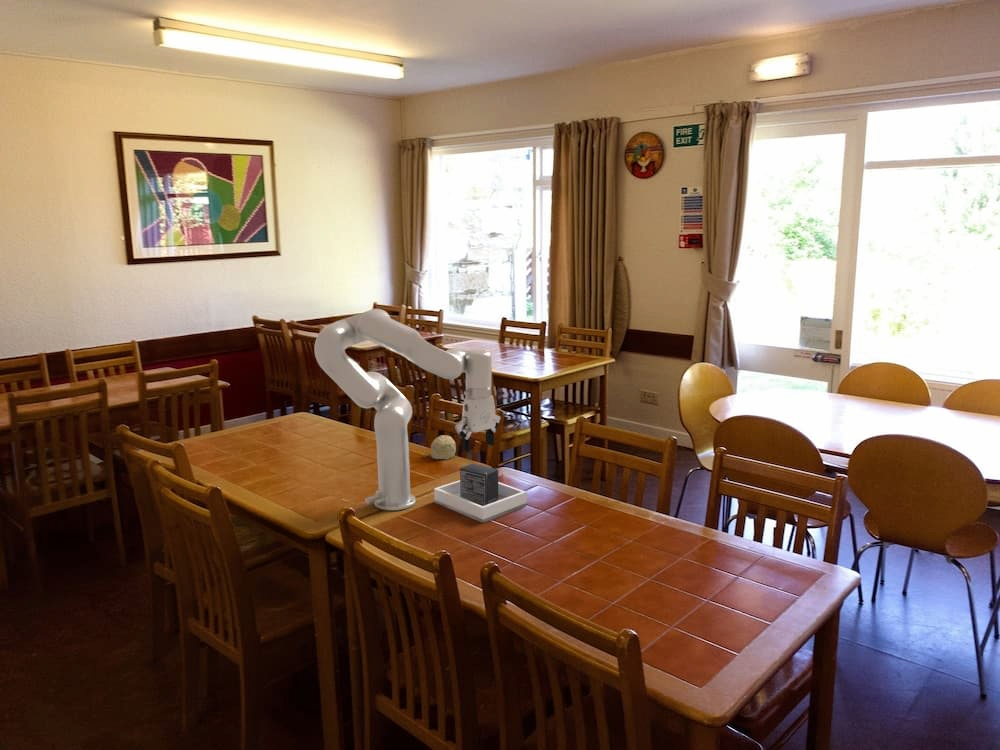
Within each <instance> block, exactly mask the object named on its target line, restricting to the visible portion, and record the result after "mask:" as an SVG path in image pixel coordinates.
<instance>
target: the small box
mask: <svg viewBox="0 0 1000 750" xmlns="http://www.w3.org/2000/svg"><path fill="white" fill-rule="evenodd" d="M459 478H460V479H459V480H460V497H461V498H464V499H466V500H469V501H471V502H474V503H476V504H479V505H481V506H485V505H488V504H490V503H493V502H496V501H498V482H499V469H498V468H493V467H489V466H485V465H480V464H476V463H469V464H467V465H464V466H462V467H459Z"/></svg>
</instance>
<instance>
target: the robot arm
mask: <svg viewBox="0 0 1000 750" xmlns="http://www.w3.org/2000/svg"><path fill="white" fill-rule="evenodd" d="M366 341H369V342H371V343H374V344H376V345H378V346H380V347H382V348H385V349H386V350H389V351H391V352H394V353H396V354H398V355H400V356H402V357H404V359H405V358H406V360H407V361H410V362H411V363H413V364H414V365H416V366H417V367H419V368H421V369H422V370H425V371H426V372H428V373H431V374H434V375H436V376H437V377H440V378H441V379H445V380H455V379H457V378H458V377H460V376H461V374H462V373H465V390H464V391H463V395H464V396H465V397H464V399H463V406H462V411H461V412H462V413H461V414H462V415H461V420H460V421H459V422H458V423H456V424H455V426H454V428H455V430H456V434H457V435H458V436H459V438H461V451H462V452H466V453H470V452H471V439H470V437H471V435H472V434H473V433H474V434H475V433H481V432H484V431H485V444H486V445H488V446H492V447H493V446H494V445H495V433H496V432H497V428H498V426H499V425H500V424H499V423H500V420H501V416H500V415H498V414H496V405H495V399H494V395H492V358H493V357H492V354H491V352H490V351H487V350H482V349H479V350H478V349H477V350H476V349H474V350H468V349H467V350H466V349H461V348H449V349H446V350H444V349H441V348H439V347H437V346H435V345H433V344H432V343H430V342H428V341H427V340H426V339H425V338H424V337H423V336H422V335H421V334H420V333H419V332H418V331H417V330H416V329H415V328H413V327H410V326H408V325H406V324H404V323H402V322H399V321H397V320H395V319H393V318H391V316H390V314H389V313H388V312H387V311H386V310H383V309H381V308H372V309H369V310H367V311H364V312H362V313H358V314H355V315H352V316H349V317H346V318H343V319H340V320H336V321H335V322H334V321H333V323H330V324H328V325H326V326H324V327H323V328H322V329H321V330H320V331H319V333H318V334H317V337H316V339H315V343H314V357H315V359H316V361H317V364H318V366H319V367H320V368H321V369H322V371H324V373H325V374H327V376H329V378H331V379H332V381H334V383H335V384H336V385H337V386H338V387H339V388H340V389H341V390H342V391H343V392H344V393H345V394H346V395H347V396H348V397H349V398H350V399H351V401H353V402H354V403H355V405H357V406H359V407H360V408H362V409H371V408H374V409H375V410H376V413H375V415H374V419H373V420H374V421H373V423H374V424H373V427H374V433H375V440H376V441H375V442H376V443H375V444H376V456H377V457H376V458H377V477H378V479H377V481H378V482H377V483H378V489H377V490H375V494H374V495H373V496H368V497H366V498H365V499H364V502H365V504H366V505H370V504H374V507H376V508H377V509H380V510H384V511H400V510H401V511H402V510H406V509H408V508H411V507H413V506H414V505H415V504H416V501H417V500H416V497H415V495H413V494H412V493H411V479H410V477H411V475H410V473H411V471H410V470H411V469H410V449H409V447H410V445H409V435H408V434H409V433H408V424H409V422H410V420H411V418H412V417H413V407H412V405H411V404H412V403H411V402H410V401H409V399H407V398H406V396H404V394H403V393H402V392H401V391H400V390H399V389H398V388H397V387H396V385H394V384H393V383H392V382H391V381H390V380H389V379H388V378H387V377H386V376H384V375H383V374H381V373H380V372H377V371H366V370H364V369H363V368H362V367H361V366H360V364H359V363H358V362H357V361H356V360H354V359H353V358H351V357H350V355H349V356H348V355H347V353H346V350H347V349H348V348H349V347H351V346H355V345H357V344H361V343H363V342H366Z"/></svg>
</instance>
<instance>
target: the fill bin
mask: <svg viewBox="0 0 1000 750" xmlns="http://www.w3.org/2000/svg"><path fill="white" fill-rule="evenodd" d="M433 500H434V503H435V504H437V505H439V506H442V507H444V508H447V509H449V510H451V511H454V512H456V513H458V514H462V515H463V516H465V517H467V518H470V519H472V520H475V521H477V522H480V523H481V524H483V523H487V522H489V521H492V520H494V519H497V518H499V517H502V516H505V515H506V514H510V513H512V512H515V511H518V510H520V509H522V508H524V507H527V491H525V490H522V489H520V488H517V487H514V486H511V485H507V484H505V483H502V482H499V481H498V501H496V502H493V503H490V504H488V505H485V506H481V505H479V504H476V503H474V502H471V501H469V500H466V499H464V498H461V497H460V479H459V480H455V481H453V482H450V483H447V484H444V485H443V484H442V485H440V486H438V487H435V488H433Z"/></svg>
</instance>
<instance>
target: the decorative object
mask: <svg viewBox="0 0 1000 750" xmlns="http://www.w3.org/2000/svg"><path fill="white" fill-rule="evenodd" d="M456 452H457V446H456V442H455V440H454V438H452V436H450V435H447V434H446V435H442V434H441V435H439V436H437V437H436V438H435V439H434V440H432V442H431V443H430V457H431V458H432V459H434V460H438V459H447V458H450V457H453V456H454V457H455V455H456ZM447 460H448V459H447Z"/></svg>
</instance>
